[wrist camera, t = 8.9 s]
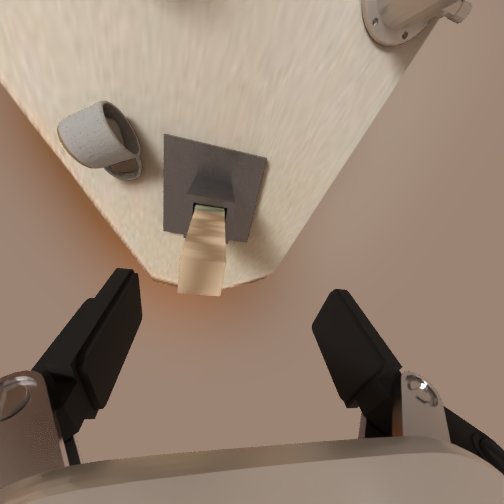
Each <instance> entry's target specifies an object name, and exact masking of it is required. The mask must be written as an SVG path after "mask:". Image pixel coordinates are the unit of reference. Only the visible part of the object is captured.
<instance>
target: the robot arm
mask: <svg viewBox="0 0 504 504" xmlns="http://www.w3.org/2000/svg"><path fill="white" fill-rule="evenodd" d="M471 9H472V5H471V4H470V3H469V2H467V1H465V0H362V12H363V19H364V22H365V26H366V28H367V30H368V32H369V34H370V36H371V37H372V38H373V39H374V40H375V41H376V42H378V43H379V44H381V45H385V46H396V45H399V44H402V43H404V42H406V41H408V40H410V39H412V38H413V37H415V36H416V35H418V34H419V33H420V32H421V31H422V30H423V29H424V28H425V27H426V26H427V24H428V23H429V22H430V21H431V19H432V18H434V17H437V18H442V17H443V16H445V17H447V18H448V19H450V20H452V21H453V22H456V23H457V24H458V23H460V22H462V21H463V20H464V19H465V18H466V17H467V16H468V14H469V13H470V11H471ZM372 23H373V24H372ZM141 320H142V308H141V298H140V288H139V278H138V274H137V273H134V271H133V270H132V269H123V268H117V269H116V270H115V271H114V273H113V274H112V275H111V276H110V278H109V279H108V281H107V282H106V283H105V285H104V286H103V287H102V289H101V290H100V291H99V293H98V294H97V295H96V297H95V298H89V299H87V300H86V301H85V302H84V303H83V304H82V306H81V307H80V308H79V310H78V311H77V312H76V314H75V315H74V316H73V317H72V319H71V320H70V321H69V322H68V324H67V325H66V326H65V327H64V329H63V330H62V331H61V333H60V334H59V335H58V336H57V338H56V339H55V340H54V342H53V343H52V344H51V345H50V347H49V348H48V349H47V350H46V352H45V353H44V354H43V356H42V357H41V358H40V360H39V361H38V362H37V363H36V365H35V366H34V367H33V368H32V370H31V371H27V370H26V371H20V372H15V373H12V374H9V375H7V376H4V377H2V378H0V504H504V450H503V449H502V448H501V447H500V446H499V445H497V444H496V443H495V442H494V441H493V440H492V439H491V438H489V437H488V436H487V435H485V434H484V433H482V432H481V431H479V430H478V429H477V428H475V427H474V426H472V425H471V424H469V423H468V422H466V421H465V420H463V419H462V418H460V417H459V416H458V415H456V414H454V413H453V412H452V411H450V410H449V409H447V408H446V407H444V406H443V402H442V400H441V397H440V396H439V394H438V392H437V391H436V390H435V388H434V387H433V386H432V385H431V384H430V383H429V382H428V381H427V380H426V379H424V378H423V377H421V376H420V375H418V374H416V373H414V372H411V371H404V372H403V373H402V374H401V372H400V371H399V370H400V369H401V368H402V366H401V364H400V363H399V362H398V360H397V359H396V358H395V356H394V355H393V354H392V352H391V350H390V349H389V348H388V346H387V345H386V343H385V342H384V341H383V339H382V338H381V337H380V335H379V334H378V332H377V331H376V330H375V328H374V327H373V325H372V324H371V323H370V321H369V320H368V318H367V317H366V316H365V314H364V313H363V311H362V310H361V309H360V307H359V306H358V304H357V303H356V302H355V300H354V299H353V297H352V296H351V295H350V293H349V292H348V291H347V290H341V289H335V290H333V291H332V292H331V293H330V294H329V296H328V298H327V299H326V301H325V303H324V305H323V306H322V308H321V310H320V312H319V313H318V315H317V317H316V319H315V320H314V322H313V324H312V330H313V333H314V336H315V338H316V340H317V343H318V345H319V348H320V350H321V353H322V355H323V357H324V360H325V362H326V365H327V367H328V369H329V372H330V374H331V377H332V379H333V382H334V384H335V387H336V389H337V392H338V394H339V396H340V398H341V399H342V400H343V401H344V403H345V405H346V407H347V408H357V407H358V406H359V407H360V409H361V411H362V413H361V420H360V428H359V436H358V439H350V440H337V441H323V442H309V443H297V444H285V445H271V446H259V447H246V448H235V449H222V450H211V451H198V452H187V453H174V454H163V455H153V456H143V457H133V458H124V459H114V460H104V461H98V462H91V463H85V464H84V463H83V460H82V456H81V453H80V449H79V446H78V442H77V439H76V435H75V434H76V433H77V432H79V429H80V427H81V425H82V423H83V421H84V419H95V417H96V415H97V412H98V410H99V409H103V408H104V407H105V405H106V404H107V401H108V399H109V397H110V394H111V392H112V389H113V387H114V385H115V382H116V380H117V378H118V375H119V373H120V371H121V368H122V366H123V363H124V361H125V359H126V356H127V354H128V351H129V349H130V347H131V344H132V342H133V340H134V337H135V335H136V333H137V330H138V328H139V325H140V323H141Z"/></svg>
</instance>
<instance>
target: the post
mask: <svg viewBox="0 0 504 504" xmlns="http://www.w3.org/2000/svg"><path fill="white" fill-rule="evenodd" d="M225 267H226V242H225V210H224V208H223V207H217V206H211V205H205V204H200V203H197V204H196V206H195V210H194V214H193V217H192V220H191V223H190V226H189V230H188V233H187V236H186V239H185V242H184V245H183V248H182V252H181V255H180V258H179V276H178V293H183V294H197V295H212V296H220V293H221V288H222V283H223V278H224V272H225Z"/></svg>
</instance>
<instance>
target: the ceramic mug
mask: <svg viewBox="0 0 504 504" xmlns="http://www.w3.org/2000/svg"><path fill="white" fill-rule="evenodd" d="M57 132H58V136H59V139H60V142H61V143H62V145H63V147H64V148H65V149H66V151H67V152H68V153H69V154H70V155H71V156H72V157H73V158H74V159H75V160H76V161H78V162H79V163H81V164H82V165H84V166H86V167H89V168H103V167H104V169H105V170H106V171H107V172H108V173H110V174H111V175H112V176H114V177H116V178H118V179H122V180H133V179H136V178H138V177H139V176H140V174H141V171H142V163H141V160H140V158H139V155H140V152H141V151H140V145H139V141H138V138H137V136H136V134H135V132H134V130H133V128H132V126H131V125H130V123H129V122H128V120H127V119H126V117H125V116H124V115H123V114H122V112H121V111H120V110H119V109H118V108H117V107H116V106H114V105H113V104H112V103H110V102H108V101H100V102H98V103H96V104H94V105H92V106H90V107H87V108H85V109H83V110H81V111H79V112H77V113H75V114H72V115H70V116H68V117H66V118H65V119H63V120H62V121H61V122H60V123H59V125H58V127H57ZM132 158H134V159H135V160H136V162H137V164H138V168H139V170H138V171H136V172H131V173H124V174H123V173H120V172H117V171H116V170H115V169H113V168H112V167H111V166H110V165H113V164H115V163H119V162H122V161H126V160H129V159H132Z"/></svg>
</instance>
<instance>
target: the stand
mask: <svg viewBox="0 0 504 504" xmlns="http://www.w3.org/2000/svg"><path fill="white" fill-rule="evenodd" d="M266 160H267V158H265V157H261V156H257V155H252V154H248V153H244V152H240V151H236V150H232V149H227V148H223V147H219V146H215V145H211V144H206V143H202V142H198V141H194V140H190V139H185V138H181V137H177V136H173V135H169V134H164V221H163V231H168V232H175V233H183V234H184V238H186V236H187V233H188V230H189V226H190V223H191V220H192V217H193V214H194V210H195V206H196V204H197V203H200V204H205V205H211V206H217V207H223V208H224V210H225V242H226V243H227V244H228V241H229V240H234V241H241V242H247V239H248V235H249V231H250V226H251V222H252V218H253V214H254V210H255V206H256V201H257V197H258V193H259V189H260V185H261V181H262V176H263V172H264V168H265V164H266Z"/></svg>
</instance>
